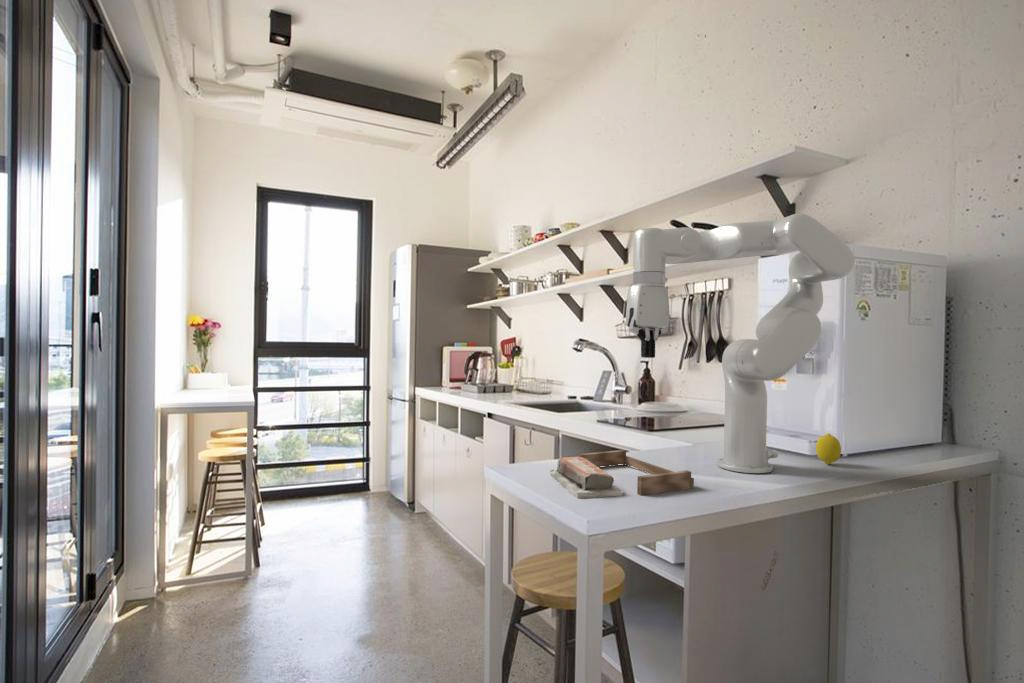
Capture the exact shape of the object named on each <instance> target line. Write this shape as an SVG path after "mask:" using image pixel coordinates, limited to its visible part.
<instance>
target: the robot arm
mask: <svg viewBox="0 0 1024 683" xmlns="http://www.w3.org/2000/svg"><path fill="white" fill-rule="evenodd" d="M632 246H633V247H632V248H633V252H632V254H633V257H632V258H633V259H632V260H633V261H632V263H633V264H632V285H630V286H629V290H628V293H627V294H628V295H627V300H626V308H625V324H626V327H627V328H628V332H629V333H631V334H634V335H635V334H636V336H637V338H638V340H639V341H640V357H641V358H648V359H650V358H651V359H653V358H655V357H656V342H657V341H658V339H659V337H660V336H661V335H662V334H666V333H668V326H669V325H670V302H669V301H670V299H669V292H668V287H667V286H666V283H668V277H666V265H679V264H692V263H701V262H709V261H725V260H726V261H727V260H733V259H741V258H742V259H743V258H753V257H765V256H777V255H778V256H779V255H783V254H788V253H793V252H796V251H799V252H798V253H796V254H795V255H794V256H793V257H792V258H791V259H790V262H789V264H788V274H789V275H788V276H789V289H788V292H787V293H786V294H785V295H784V297H782V299H780V301H779V302H777V304H776V305H775V306H773V307H772V308H771V309H770V310H769V312H767V313H766V314H765V315H764V316H763V317H762V318H761V319H760V320H759V322H758V323H757V324H756V328H755V336H756V339H755V338H754V339H753V338H749V339H748V338H746V339H743V338H742V339H738V340H735V341H732V342H731V343H729V344H728V345H727V346H726V348H725V349H724V351H723V353H722V356H721V357H722V358H721V359H722V360H721V366H722V372H723V377H724V379H723V380H724V425H723V426H724V427H723V428H724V430H723V431H724V435H723V436H724V437H723V438H724V439H723V457H720V458H717V461H716V464H717V465H716V466H718V467H719V468H722V469H724V470H727V471H732V472H738V473H744V474H768V473H771V472H772V471H773V470H774V466H773V464H772V463H770V462H769V460H770V459H776V458H778V457H779V452H778V451H777V450H775V449H771V450H769V449H767V432H768V430H767V427H768V426H767V422H768V421H767V420H768V419H767V418H768V391H767V387H766V383H765V381H768V382H769V381H770V382H772V381H775V380H778V379H780V378H782V377H784V376H785V375H786V374H788V373H789V372H790V371H791V370H792V369H793V368H794V367H795V366H796V365H797V364H798V363H799V362H800V361H801V360H802V359H803V358H804V357H805V356H806V355H807V354H808V353H809V352H810V351H811V350H812V349H813V348H814V347H815V346H816V344H817V343H818V342H819V339H820V337H821V334H822V323H821V321H820V318H819V317H818V313H820V311H821V309H822V307H823V304H824V295H823V286H822V282H823V283H824V282H828V281H835V280H840V279H842V278H844V277H846V276H848V275H849V274H851V272H852V270H853V268H854V266H855V262H856V261H855V256H854V253H853V251H852V250H851V248H850V246H848V245H847V244H846V243H845V242H844V241H843V240H842V239H841V238H839V236H837V235H836V234H834V233H833V232H832V231H830V230H829V229H828V228H827V227H826V226H824V225H823V224H822V223H821V222H819V221H818V220H817V219H815V218H814V217H811V215H808V214H805V213H794V214H791V215H788V216H785V217H782V218H779V219H772V220H761V221H758V220H757V221H748V222H734V223H729V224H725V225H721V226H718V227H715V228H712V229H708V230H704V231H697V230H695V229H694V228H692V227H687V226H685V227H684V226H683V227H677V228H676V227H675V228H664V229H662V228H659V227H658V228H657V227H647V228H646V227H645V228H641V229H637V230H636V231H635V232H634V233H633V244H632Z"/></svg>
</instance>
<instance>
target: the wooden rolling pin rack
mask: <svg viewBox="0 0 1024 683" xmlns="http://www.w3.org/2000/svg"><path fill="white" fill-rule="evenodd" d="M577 457H582V458H584V459H587V460H588V461H589V462H591V463H592V464H594V465H595V466H597V467H600V466H609V465H618V464H626V465H629V466H633V467H635V468H638V469H641V470H643V471H646V472H648V473H650V474H648V473H647V474H646V475H639V476H637V485H636V486H637V488H636V491H637V495H640V496H647V495H654V494H660V493H667V492H675V491H683V490H688V489H694V488H695V478H694V477H692V471H691V470H687V469H686V470H681V471H680V470H679V471H673V470H670V469H667V468H664V467H661V466H657V465H655V464H652V463H649V462H646V461H643V460H640V459H637V458H634V457H630V456H629V455H627V450H625V449H620V450H619V449H618V450H617V449H616V450H608V451H598V452H589V453H588V452H587V453H578V456H577ZM626 465H625V466H626ZM651 474H652V475H651ZM646 494H647V495H646Z"/></svg>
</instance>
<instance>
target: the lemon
mask: <svg viewBox="0 0 1024 683" xmlns="http://www.w3.org/2000/svg"><path fill="white" fill-rule="evenodd" d="M815 451H816V452H815V453H816V456H817V457H818V458H819V459H820V461H822V462H824V464H826V465H827V464H830V465H832V463H833V464H834V463H835V462H837V461H838V460H839V459H840V457H841V454H842V447H841V443H840V441H839V439H838V438H836V437H835V436H833V435H831V433H826V434H824V435H822V436H820V437H819V438H818V439H817V441H816V444H815Z"/></svg>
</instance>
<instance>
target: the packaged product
mask: <svg viewBox="0 0 1024 683" xmlns="http://www.w3.org/2000/svg"><path fill="white" fill-rule="evenodd" d="M549 472H550V477H552V478H553V479H554V480H555V481H556V480H557V481H556V482H557V483H558V482H559V483H560V484H559V483H558V484H559V485H560V486H562V487H563V488H564V489H565V488H566V489H567V490H568V491H567V490H566V489H565V490H566V491H567V492H568V493H570V494H571V493H572V494H573V495H572V494H571V495H572V496H573V497H575V498H576V497H577V499H590V498H591V499H592V498H605V497H608V498H609V497H621V496H622V497H623V495H624V491H623V490H622V489H620V488H618V487H617V486H615V485H613V484H614V481H615V479H614V477H613V475H611V474H609V473H608V472H606V471H604V470H603V469H601V468H598V467H597V466H595V465H594V464H592V463H591V462H589V461H588V460H587V459H584V458H582V457H578V456H569V457H568V456H567V457H559V458H558V460H557V469H556V470H554V469H552V470H549Z"/></svg>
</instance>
